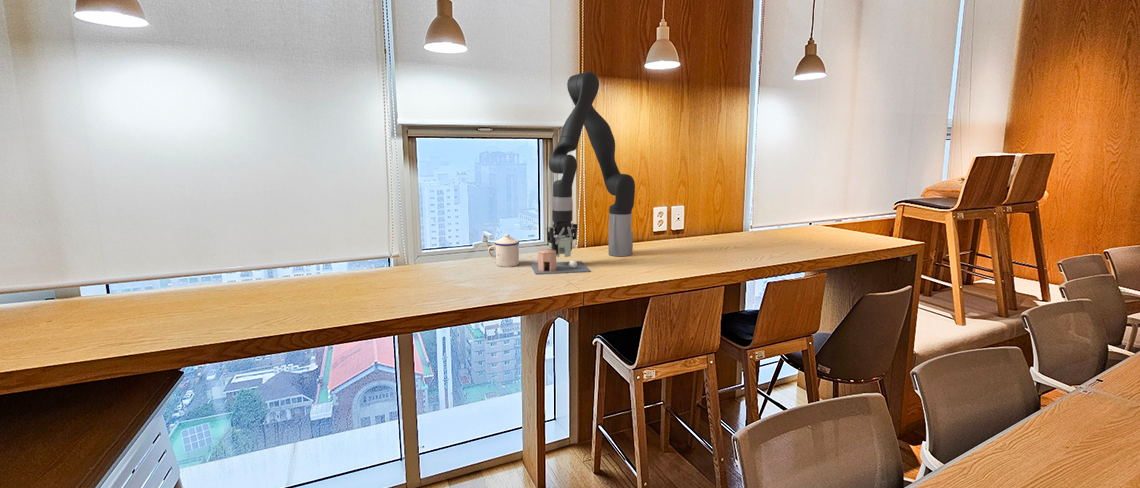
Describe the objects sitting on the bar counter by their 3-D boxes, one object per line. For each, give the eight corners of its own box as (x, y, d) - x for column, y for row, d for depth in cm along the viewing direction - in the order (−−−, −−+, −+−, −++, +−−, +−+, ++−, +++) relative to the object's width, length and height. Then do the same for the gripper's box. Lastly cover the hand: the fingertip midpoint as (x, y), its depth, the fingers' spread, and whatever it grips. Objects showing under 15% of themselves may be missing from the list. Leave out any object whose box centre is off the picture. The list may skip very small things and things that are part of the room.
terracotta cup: (548, 266, 204) (548, 248, 203) (559, 269, 200) (559, 250, 198) (534, 269, 200) (534, 250, 199) (546, 272, 195) (546, 253, 194)
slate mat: (581, 262, 213) (581, 261, 213) (590, 271, 198) (590, 270, 198) (530, 264, 210) (530, 263, 210) (535, 274, 194) (535, 273, 194)
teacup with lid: (521, 262, 213) (520, 232, 211) (517, 267, 204) (516, 236, 202) (491, 261, 214) (490, 232, 212) (485, 266, 205) (484, 236, 203)
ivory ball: (573, 266, 204) (573, 259, 203) (578, 268, 201) (578, 260, 201) (567, 268, 202) (567, 260, 201) (572, 269, 200) (572, 261, 199)
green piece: (562, 252, 212) (562, 235, 211) (574, 255, 207) (574, 237, 206) (550, 255, 207) (550, 237, 206) (561, 257, 203) (561, 239, 202)
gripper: (569, 206, 212) (568, 248, 215) (541, 209, 202) (541, 253, 205) (583, 208, 206) (582, 251, 209) (555, 211, 196) (554, 256, 200)
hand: (562, 252), depth 207 cm, fingers closed on green piece, 6 cm apart
